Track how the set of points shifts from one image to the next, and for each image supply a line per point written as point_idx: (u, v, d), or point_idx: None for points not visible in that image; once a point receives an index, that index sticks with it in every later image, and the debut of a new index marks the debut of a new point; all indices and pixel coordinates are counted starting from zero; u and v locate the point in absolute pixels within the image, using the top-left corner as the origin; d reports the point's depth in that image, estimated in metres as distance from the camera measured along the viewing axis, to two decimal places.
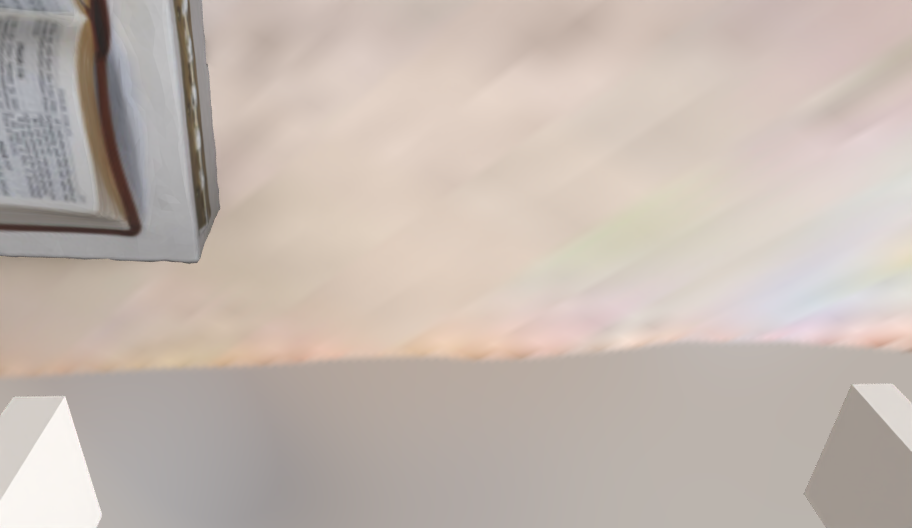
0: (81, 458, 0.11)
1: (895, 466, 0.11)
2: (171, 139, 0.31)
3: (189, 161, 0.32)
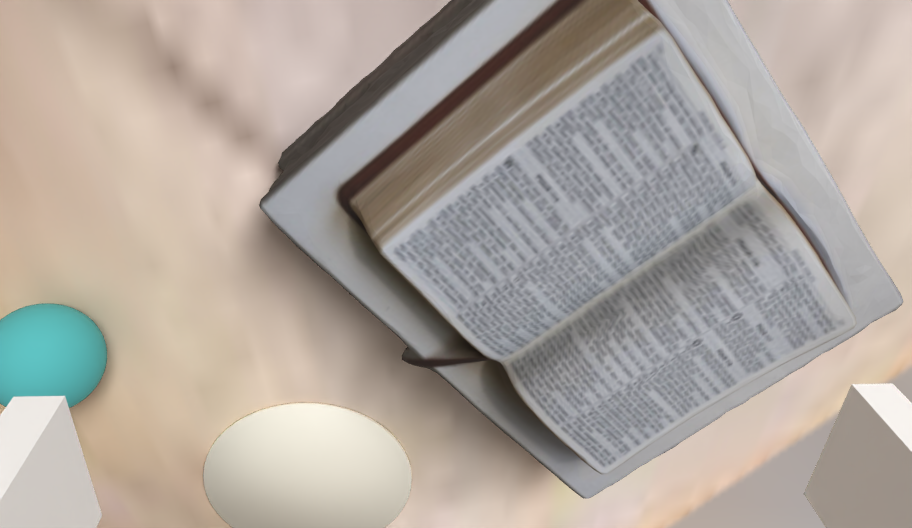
0: (81, 457, 0.11)
1: (895, 466, 0.11)
2: (843, 221, 0.30)
3: None
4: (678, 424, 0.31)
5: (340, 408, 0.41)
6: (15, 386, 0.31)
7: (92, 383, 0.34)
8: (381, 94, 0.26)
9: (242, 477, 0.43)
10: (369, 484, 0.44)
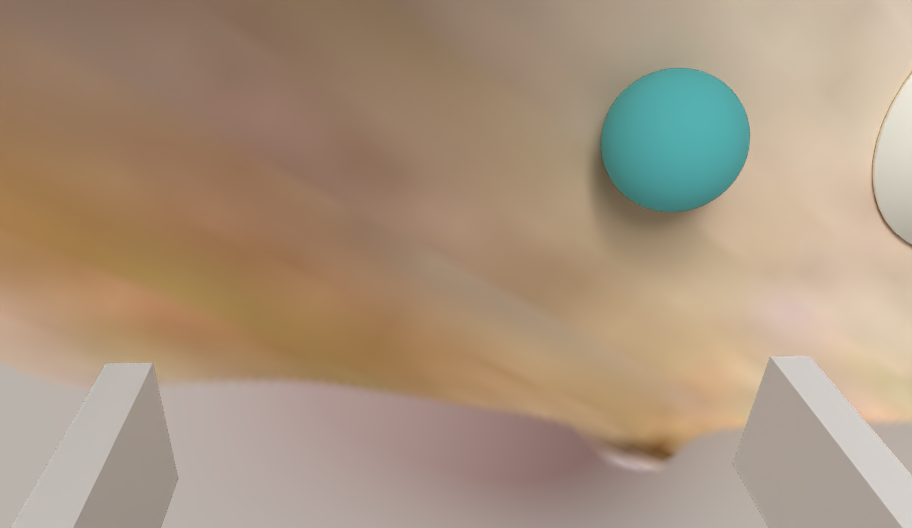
0: (163, 422, 0.12)
1: (804, 431, 0.11)
2: None
3: None
4: None
5: None
6: (691, 161, 0.24)
7: (748, 123, 0.25)
8: None
9: None
10: None
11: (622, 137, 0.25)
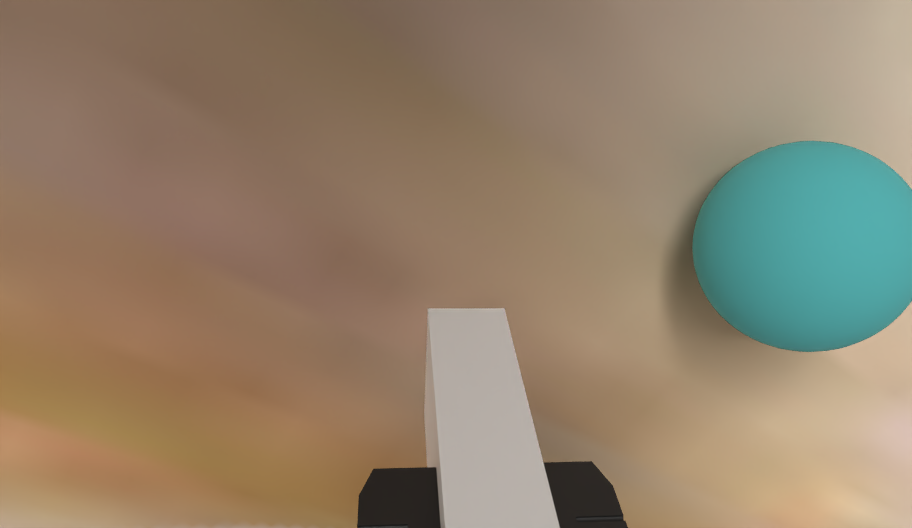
0: None
1: None
2: None
3: None
4: None
5: None
6: (851, 296, 0.15)
7: None
8: None
9: None
10: None
11: (737, 252, 0.16)
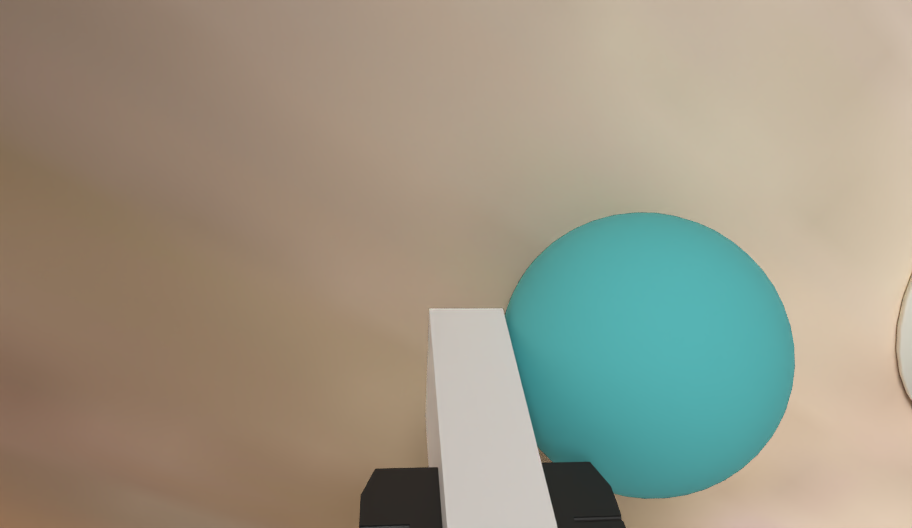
0: None
1: None
2: None
3: None
4: None
5: None
6: (773, 422, 0.12)
7: None
8: None
9: None
10: None
11: (632, 430, 0.11)
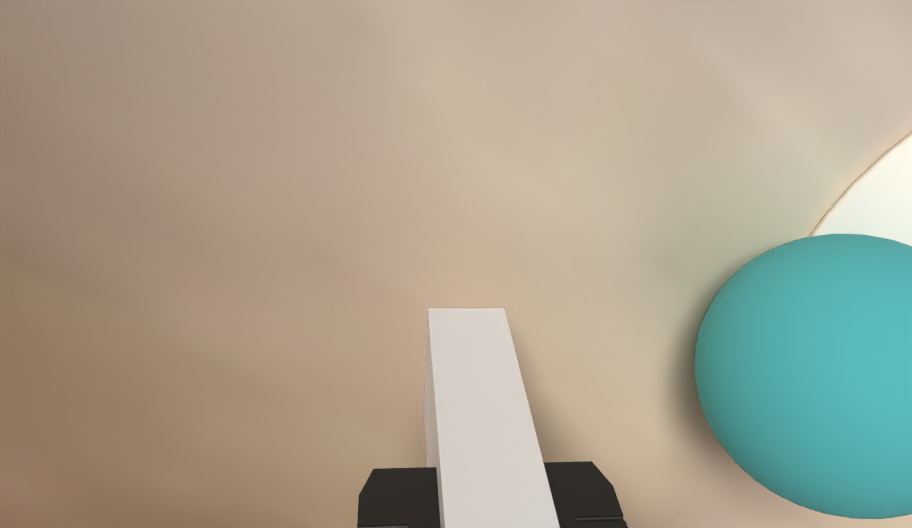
0: None
1: None
2: None
3: None
4: None
5: None
6: None
7: (712, 322, 0.14)
8: None
9: None
10: None
11: None
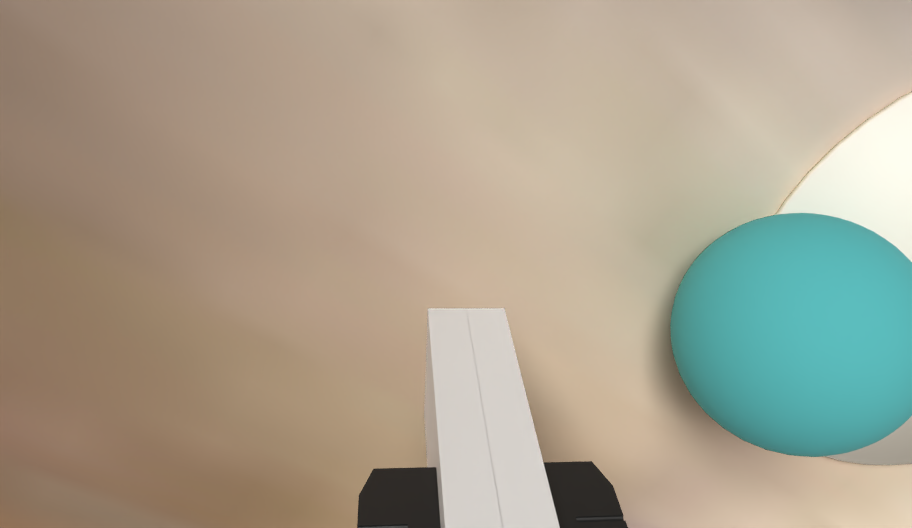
0: None
1: None
2: None
3: None
4: None
5: None
6: None
7: (684, 289, 0.16)
8: None
9: None
10: None
11: None
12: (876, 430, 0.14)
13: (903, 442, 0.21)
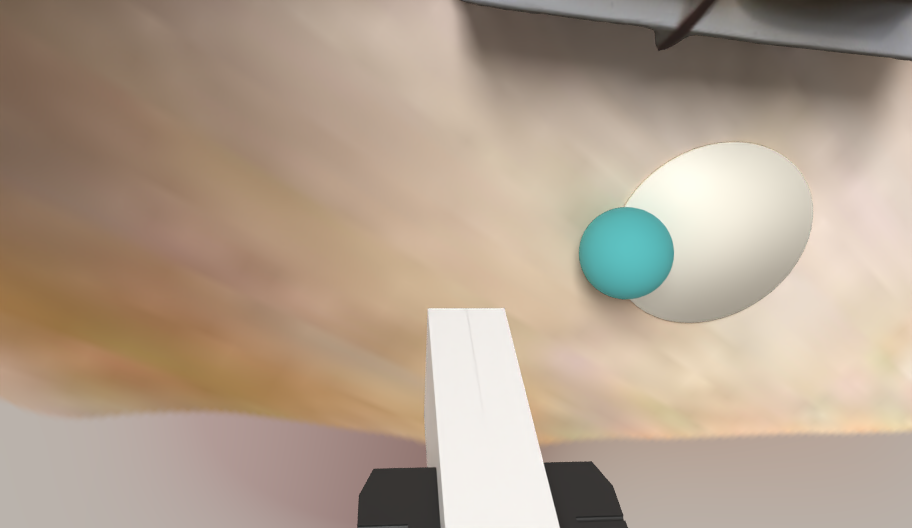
0: None
1: None
2: None
3: None
4: None
5: (690, 151, 0.40)
6: None
7: (582, 236, 0.41)
8: None
9: None
10: (765, 205, 0.43)
11: None
12: (645, 284, 0.39)
13: (694, 311, 0.46)
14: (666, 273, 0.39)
